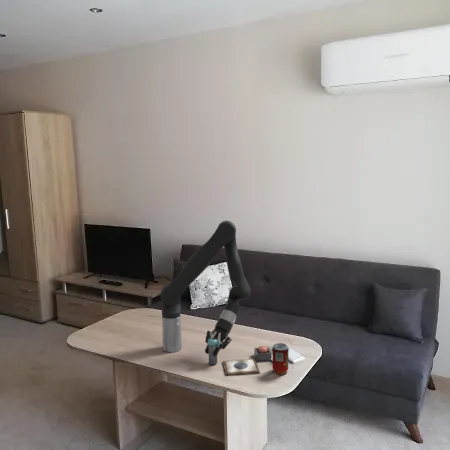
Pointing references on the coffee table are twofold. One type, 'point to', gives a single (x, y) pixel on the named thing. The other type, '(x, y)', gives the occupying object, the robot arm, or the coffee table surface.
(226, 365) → the board
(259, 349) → the button
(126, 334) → the coffee table surface
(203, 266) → the robot arm
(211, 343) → the marker
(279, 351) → the soda can
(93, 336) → the coffee table surface
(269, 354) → the button housing
